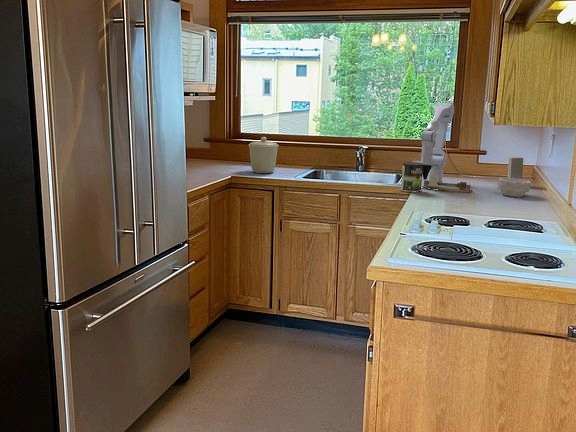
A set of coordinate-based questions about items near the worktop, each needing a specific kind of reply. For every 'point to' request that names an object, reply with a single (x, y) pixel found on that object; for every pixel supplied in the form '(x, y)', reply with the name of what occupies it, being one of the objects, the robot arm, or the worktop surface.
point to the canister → (263, 155)
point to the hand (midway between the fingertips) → (425, 179)
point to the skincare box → (515, 167)
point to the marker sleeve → (433, 180)
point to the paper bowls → (514, 186)
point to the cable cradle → (461, 186)
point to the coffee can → (411, 176)
